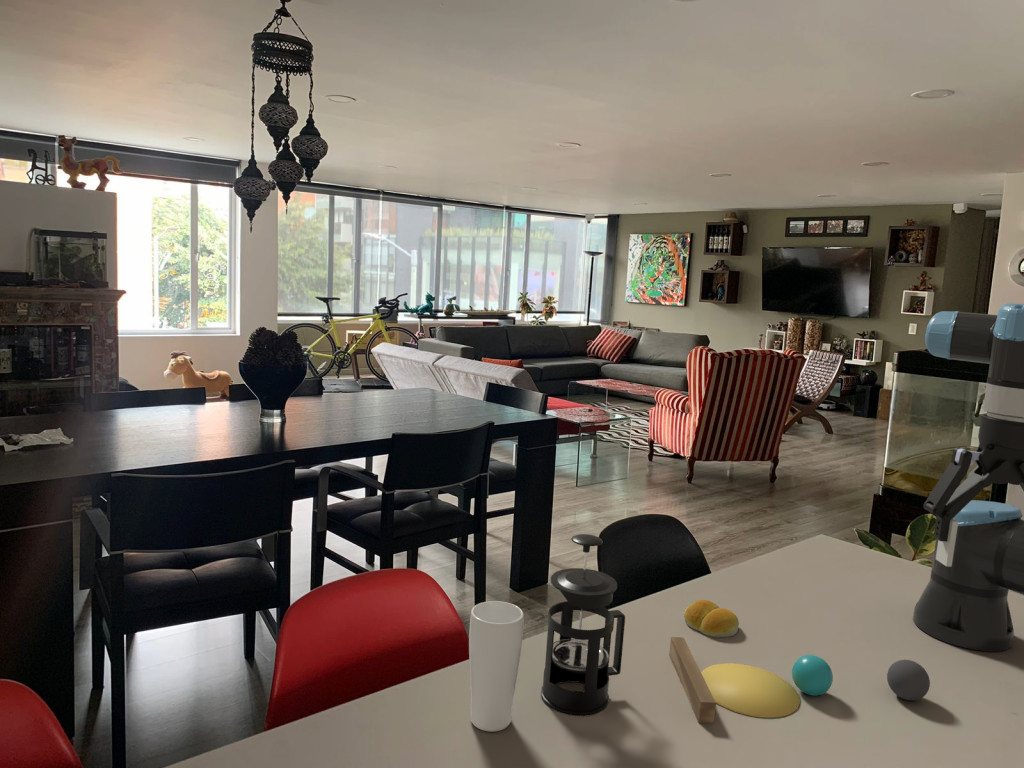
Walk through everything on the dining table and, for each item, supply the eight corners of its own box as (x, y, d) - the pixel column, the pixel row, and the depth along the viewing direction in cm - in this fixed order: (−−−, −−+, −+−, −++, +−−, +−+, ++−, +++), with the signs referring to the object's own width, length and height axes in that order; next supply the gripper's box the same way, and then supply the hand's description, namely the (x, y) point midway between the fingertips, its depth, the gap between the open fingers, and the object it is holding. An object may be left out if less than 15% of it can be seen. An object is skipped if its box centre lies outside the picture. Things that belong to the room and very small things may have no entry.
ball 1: (820, 683, 113) (825, 648, 112) (836, 704, 108) (841, 667, 107) (784, 681, 113) (788, 646, 112) (798, 702, 108) (802, 665, 107)
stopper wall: (681, 655, 119) (683, 637, 119) (713, 723, 101) (715, 702, 101) (669, 654, 119) (670, 636, 118) (698, 722, 101) (700, 701, 101)
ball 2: (914, 688, 114) (919, 653, 113) (934, 709, 108) (940, 673, 107) (877, 686, 113) (882, 651, 113) (896, 707, 108) (901, 671, 107)
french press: (552, 721, 99) (564, 552, 96) (526, 683, 108) (537, 527, 105) (632, 709, 103) (646, 546, 100) (601, 673, 112) (613, 523, 109)
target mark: (778, 666, 117) (779, 665, 117) (815, 720, 103) (815, 718, 103) (688, 662, 117) (688, 661, 117) (713, 715, 103) (713, 713, 103)
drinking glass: (488, 700, 103) (494, 595, 101) (527, 721, 99) (535, 612, 97) (453, 721, 98) (459, 611, 96) (493, 744, 94) (500, 629, 92)
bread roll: (720, 644, 124) (722, 621, 123) (675, 623, 131) (677, 601, 130) (748, 631, 129) (751, 608, 129) (704, 611, 136) (706, 590, 136)
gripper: (1082, 416, 109) (1057, 560, 112) (910, 406, 108) (890, 550, 112) (1124, 427, 101) (1096, 581, 104) (939, 417, 101) (917, 571, 104)
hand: (989, 565), depth 108 cm, fingers open, 12 cm apart
